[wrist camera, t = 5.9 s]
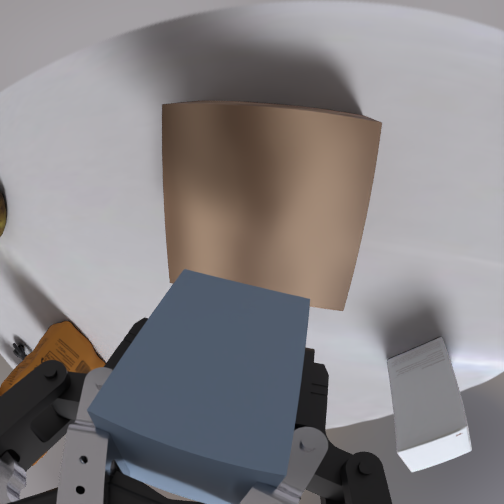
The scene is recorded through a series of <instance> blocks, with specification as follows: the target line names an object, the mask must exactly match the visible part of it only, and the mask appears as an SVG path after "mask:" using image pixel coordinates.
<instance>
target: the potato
mask: <svg viewBox="0 0 504 504" xmlns="http://www.w3.org/2000/svg"><path fill="white" fill-rule="evenodd" d="M5 224H6V208H5V203H4V198H3V196H2V194H1V192H0V237H1V235H2V234H3V231H4V228H5Z"/></svg>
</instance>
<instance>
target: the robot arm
mask: <svg viewBox="0 0 504 504" xmlns="http://www.w3.org/2000/svg"><path fill="white" fill-rule="evenodd" d="M147 320H148V318H143V319H141V320H140V321H138V322H137V323H135V324H134V325H133V327H132V328H131V329H130V331H129V332H128V334H127V335H126V336H125V338H124V340H123V341H122V342H121V343H120V345H119V346H118V347H117V349H116V350H115V352H114V353H113V355H112V356H111V357H110V359H109V360H108V362H107V363H106V364H105V366H104V367H99V368H96V369H93V370H91V371H90V372H89V373H88V374H85V373H77V372H70V371H67V370H66V367H65V366H64V364H63V363H61V362H60V361H57V360H47V361H45V362H43V363H41V364H40V365H39V366H37V367H36V368H35V369H34V370H32V371H31V372H30V373H28V374H27V375H26V376H25V377H24V378H22V379H21V380H20V381H19V382H17V383H16V384H15V385H14V386H12V387H11V388H10V389H9V390H7V391H6V392H5V393H4V394H3V395H1V396H0V504H205V503H202V502H193V501H182V500H172V499H168V498H166V497H164V496H162V495H161V494H159V493H158V492H156V491H155V490H153V489H152V488H150V487H149V486H147V485H146V484H144V483H143V482H141V481H139V480H136V479H134V478H132V477H130V470H129V469H128V467H127V465H126V463H125V461H124V460H123V458H122V456H121V454H120V452H119V450H118V448H117V446H116V444H115V443H114V441H113V439H112V437H111V435H110V433H109V432H107V431H105V430H102V429H99V428H97V427H95V425H94V423H93V421H92V420H91V418H90V416H89V414H88V412H87V409H88V407H89V406H90V404H91V403H92V401H93V400H94V398H95V397H96V395H97V394H98V392H99V391H100V389H101V387H102V386H103V384H104V383H105V381H106V380H107V378H108V377H109V375H110V374H111V372H112V371H113V369H114V368H115V366H116V365H117V364H118V362H119V361H120V359H121V358H122V356H123V355H124V353H125V352H126V350H127V349H128V347H129V346H130V344H131V343H132V342H133V340H134V339H135V337H136V336H137V334H138V333H139V331H140V330H141V329H142V327H143V326H144V324H145V323H146V321H147ZM314 353H315V350H314V349H310V348H306V347H305V354H304V362H303V370H302V378H301V386H300V393H299V400H298V407H297V414H296V421H295V427H294V434H293V440H292V446H291V452H290V458H289V463H288V469H287V475H286V477H285V478H284V479H283V481H282V482H281V483H280V484H279V486H278V487H276V486H272V485H269V484H265V483H262V482H258V481H257V482H256V483H255V484H254V486H253V487H252V488H251V489H250V491H249V492H248V493H247V495H246V496H245V497H244V498H243V500H242V501H241V502H240V503H239V504H298V503H299V501H300V499H301V495H302V493H303V492H304V490H305V489H306V490H308V491H311V492H313V493H315V494H317V495H320V499H321V504H392V502H391V497H390V493H389V489H388V485H387V481H386V477H385V473H384V469H383V465H382V463H381V461H380V460H379V458H378V457H377V456H375V455H374V454H372V453H369V452H359V453H355V454H354V455H352V454H350V453H348V452H345V451H343V450H341V449H339V448H337V447H335V446H334V445H333V444H332V443H331V442H330V441H329V440H328V438H327V436H326V432H325V425H326V412H327V395H328V379H329V375H328V372H327V370H326V368H325V365H324V364H319V363H314ZM66 433H67V434H66ZM65 434H66V439H65V445H64V450H63V457H62V463H61V470H60V477H59V485H58V487H57V488H54V489H52V490H49V491H46V492H43V493H40V494H37V495H34V496H30V497H27V498H24V499H21V500H20V498H19V496H20V491H21V489H23V488H24V487H26V473H25V472H26V471H27V470H28V469H29V468H30V467H31V466H32V465H33V464H34V463H35V462H36V461H37V460H39V459H40V458H41V457H42V456H43V455H44V454H45V453H46V452H47V451H48V450H49V449H50V448H51V447H52V446H53V445H54V444H55V443H57V442H58V440H60V439H61V438H62V437H63V436H64V435H65Z"/></svg>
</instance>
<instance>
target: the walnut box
mask: <svg viewBox="0 0 504 504" xmlns="http://www.w3.org/2000/svg"><path fill="white" fill-rule="evenodd" d="M381 126H382V123H381V122H379V121H376V120H374V119H371V118H369V117H366V116H363V115H358V114H353V113H347V112H340V111H334V110H327V109H319V108H311V107H303V106H294V105H284V104H272V103H258V102H241V101H192V102H181V103H171V104H162V161H163V192H164V212H165V229H166V243H167V256H168V268H169V278H170V283H174V282H175V281H176V280H177V278H178V277H179V275H180V274H181V273H182V271H183V270H184V269H187V270H191V271H195V272H199V273H203V274H207V275H211V276H215V277H219V278H223V279H227V280H231V281H235V282H240V283H244V284H248V285H252V286H256V287H261V288H265V289H269V290H273V291H278V292H282V293H286V294H291V295H295V296H300V297H304V298H308V299H310V307H317V308H324V309H331V310H339V311H343V310H344V307H345V303H346V299H347V296H348V292H349V288H350V284H351V280H352V277H353V273H354V269H355V265H356V260H357V256H358V252H359V248H360V243H361V239H362V234H363V230H364V225H365V220H366V216H367V211H368V206H369V200H370V195H371V190H372V184H373V179H374V173H375V167H376V161H377V154H378V148H379V141H380V134H381Z"/></svg>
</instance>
